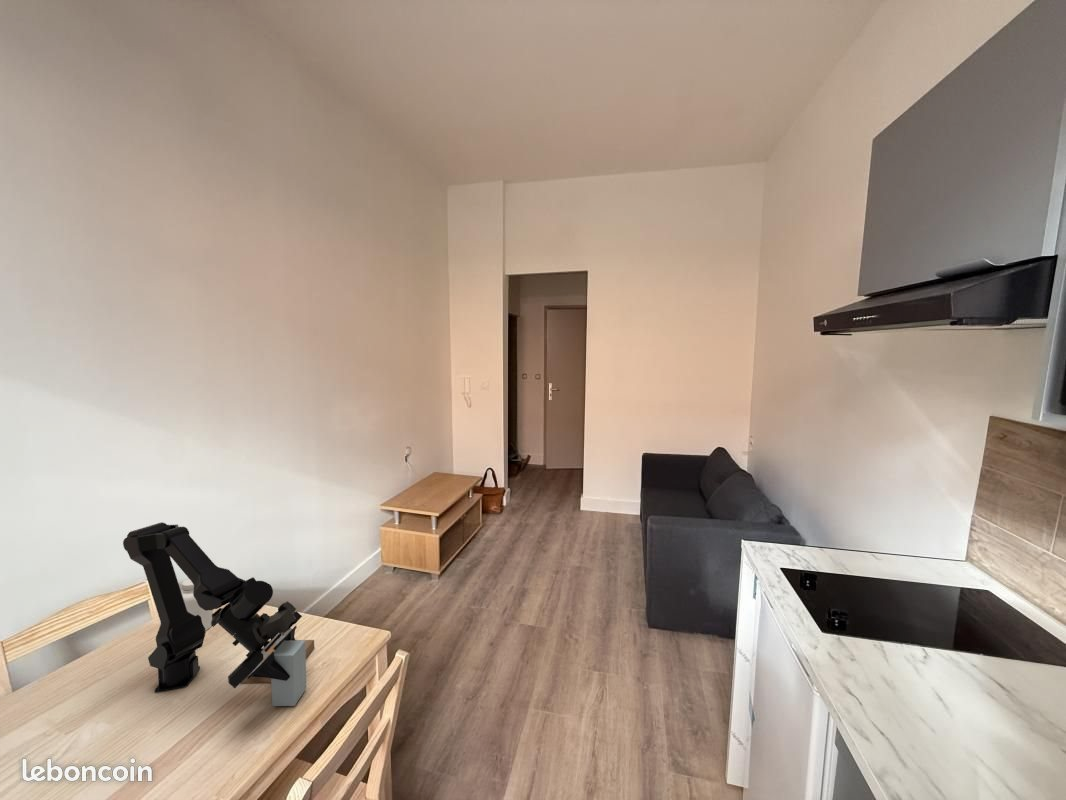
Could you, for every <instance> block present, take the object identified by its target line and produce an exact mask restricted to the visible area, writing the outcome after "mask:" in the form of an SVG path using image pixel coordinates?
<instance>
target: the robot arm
mask: <svg viewBox="0 0 1066 800" xmlns="http://www.w3.org/2000/svg"><path fill="white" fill-rule="evenodd" d="M122 542H123V543H122V545H123V549H124V551H126V552H127V554H128V556H129V559H130V560H131V561H133V562H135V563H136V564H139V565H140V566H141V567H142V568H143V570H144V573H145V576H146V580H147V582H148V586H149V589H150V592H151V595H152V599H153V602H154V605H155V608H156V611H157V615H158V617H159V622H160V624H159V625H160V626H159V628H158V631H157V633H156V636H155V642H156V643H155V644H156V648H155V649H154V650H153V651H152V652H151V654H149V656H148V657H147V661H148V664H149V666H150V667H152V668H155V669H157V677H158V680H157V681H158V685H157V686H156V687H155V688H154V693H158V692H160V693H161V692H164V691H171V690H176V689H181V688H186V687H187V686H188V685H189V684H190V683H191V682H192V680H193V679H194V678H195V676H196V675H197V674H198V672H199V671H200V669H201V666H200V665H199V656H198V655H196V651H197V650H198V649H200V648H202V647H203V644H204V641H205V637H206V632H207V630H205V627H204V626H203V624H202V620H201V617H200V616H199V615H196V616H195V615H193V614H191V613H189V612H188V611H187V609H186V605H185V602H184V599H183V596H182V593H181V591H182V589H181V588H180V583H179V581H178V578H177V575H176V571H175V567H174V565H173V562H172V560H173V561H174V563H175V564H176V565H177V566H178V567H179V568H180V570H182V571H181V572H183V573H184V574H185V576H187V579H190V580H191V581H192V583H193V584H194V591H193V596H194V597H195V599H196V600H197V604H198V605H199V607H200V608H202V609H204V610H206V611H207V610H213V614H212V621H211V627H215V626H216V625H219V626H220V627H222V629H223V630H224V631H226V632H227V634H229V635H230V636H231V637H232V638H234V641H233V642H232V643H231V644H232V645H233V646H235V647H236V646H238V644H240V645H241V646H242V647H243V648H245V650H247V651H248V652H247V654H245V656H246V658H245V659H243V661H241V663H240V664H239V665H237V667H235V669H234V670H233V671H232V672H231V673H230V674H229V675H228V677H227V680H228V681H227V682H228V684H229V685H230V686H231V687H232V688H234V689H236V688H237V687H238V686H239V685H240V684H242V683H241V682H242V681H243V680H244V679H245V678H246V677H247V676H248V675H249V674H250V673H251V674H250V675H249V676H248V677H247V679H250V678H251V677H263V678H272V679H278V680H284V681H287V680H288V679H289V678H290V675H289V674H288V673H287V672H286V671H285V670H284V669H283V668H282V667H281V666H280V665H279V664H278V663H277V662H276V661H275V658H274V651H273V652H272V653H271V654H270V655H269V654H267V653H266V652H267V651H268V650H269V649H270V647H271V646H272V645H273V644H274V643H275V644H276V646H275V647H274V648H273V649H274V650H276V649H277V648H278V647H279V646H280V645H281V643H282V642H283V641H291V640H296V638H295V635H296V629H297V625H296V624H297V622H299V620H300V619H301V618H302V617H303V615H301V614H300V612H298V611H297V608H296V607H295V606H294V605H293V604H292V603H290V602H289V601H284V602H282V604H280V605H279V607H277V611H276V612H275V613H274V614H272V615H269V614H268V613H265V612H263V613H261V615H260V614H258V612H259V611H261V609H262V608H263V607H265V605H267V603H268V602H270V600H271V599H272V597H273V594H274V589H273V587H272V586H271V584H270V583H268V582H266V581H264V580H256V579H255V577H253V576H252V577H251V578H249V579H246V580H245V579H243V578H240V577H238V576H237V575H236V574H235V573H233V571H231V570H230V569H229V568H224V567H220V566H219V567H218V566H217V565H216V564H215V562H213V560H211V558H210V557H209V556H208V555H207V553H205V551H203V549H202V548H201V547H200V546H199V545H198V543H197V542H196V541H195V540H194V539H193V538H192V537H191V535H190V531H189V529H188V527H186V526H179V524H167V523H166V522H158V523H155V524H151V525H147V526H145V527H142V528H138V529H134V530H131V531H130V532H129V531H128V533H127V536H126V537H125V538H124V539H123V541H122ZM221 607H222V608H221ZM214 610H215V611H214ZM252 617H253V618H252ZM293 626H294V627H293ZM292 627H293V628H292ZM263 647H264V648H263ZM262 648H263V649H262Z"/></svg>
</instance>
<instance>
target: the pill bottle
mask: <svg viewBox="0 0 1066 800" xmlns="http://www.w3.org/2000/svg"><path fill="white" fill-rule="evenodd" d="M193 591H194V584H193V583H192V581H191V580H190V579H189V578H187V579H185V580H184V581H183V582H182V583H181V593H182V596H183V599H184V602H185V605H186V609H187V611H188V612H189V613H191V614H193V615H195V616H196V615H199V616H200V617H201V620H202V624H203V626H204V627H205V630H206V631H208V630H209V629H210V628H211V627H212V626H211V621H212V614H213V613H214V609H213V610H207V611H206V610H204V609H202V608H200V607H199V605H198V604H197V600H196V599H195V597H194V596H193Z"/></svg>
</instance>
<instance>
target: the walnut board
mask: <svg viewBox="0 0 1066 800" xmlns="http://www.w3.org/2000/svg"><path fill="white" fill-rule="evenodd" d="M304 640H305V645H306V660H307V659H308V657H309V656H310V655H311V654H312V653H313V651H314V649H315V639H304ZM275 646H276V644H275V643H274V644H273V645H272V646H271V647H270V649H269V650H268V651H267V652H266V653H267V654H269V655H270V654H271V653H272V652H273V651H275V650H274V649H273V648H274V647H275ZM263 648H264V646H263V647H262V649H263ZM250 674H251V673H250ZM250 674H249V675H250ZM249 675H248V676H249ZM248 676H247V677H248ZM247 677H246V678H245V679H244V680H243V681H242V682H241V683H240V684H271V678H263V677H251V678H250V679H247Z"/></svg>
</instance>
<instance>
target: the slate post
mask: <svg viewBox="0 0 1066 800" xmlns="http://www.w3.org/2000/svg"><path fill="white" fill-rule="evenodd" d="M305 640H306V639H295V640H291V641H283V642H282V643H281V645H280V646H279V647H278V648H277V649H276V650H275V651H274V658H275V661H276V662H277V663H278V664H279V665H280V666H281V667H282V668H283V669H284V670H285V671H286V672H287V673H288V674H289V675H290V678H289V679H288V680H287V681H284V680H278V679H272V678H271V683H270V684H271V706H272V707H295V706H296V704H297V702H298V701H299V700H300V698H301V697H302V695H303V694H304V693H305V691H306V690H307V659H306V645H305Z"/></svg>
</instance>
